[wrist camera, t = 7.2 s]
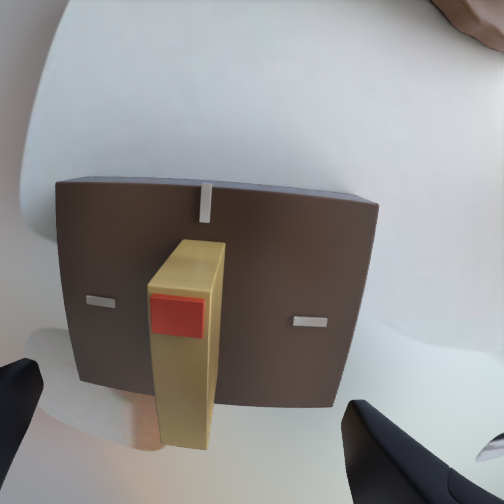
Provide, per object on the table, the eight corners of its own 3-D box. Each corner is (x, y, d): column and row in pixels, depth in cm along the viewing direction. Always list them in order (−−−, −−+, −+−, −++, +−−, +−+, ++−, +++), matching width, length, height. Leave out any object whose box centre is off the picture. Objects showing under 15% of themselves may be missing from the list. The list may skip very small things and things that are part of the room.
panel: (100, 352, 17) (78, 384, 14) (87, 174, 14) (52, 179, 11) (321, 374, 17) (332, 411, 14) (356, 193, 14) (382, 202, 11)
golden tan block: (217, 373, 13) (207, 456, 9) (182, 370, 13) (159, 449, 9) (225, 242, 12) (210, 295, 7) (182, 239, 12) (143, 288, 7)
